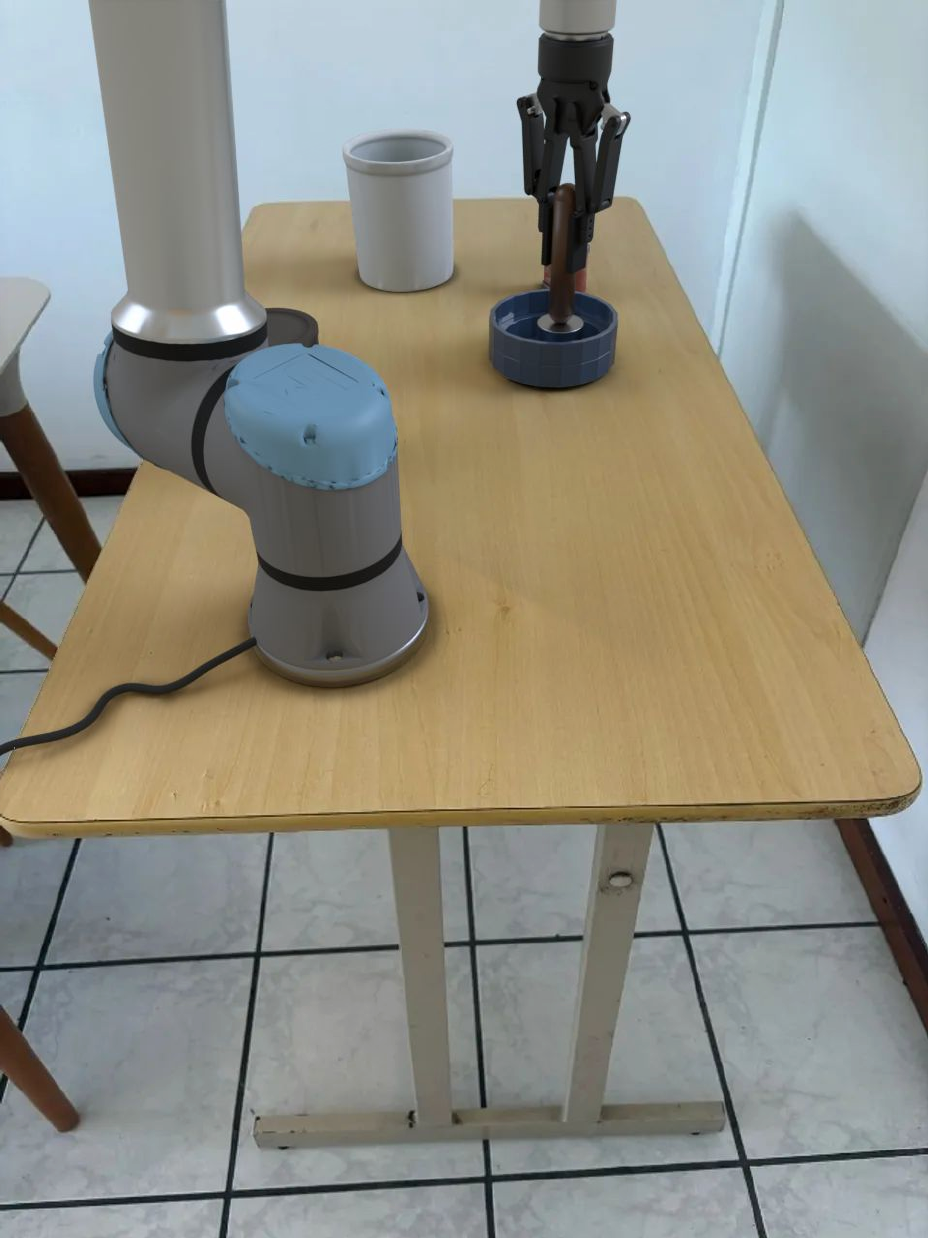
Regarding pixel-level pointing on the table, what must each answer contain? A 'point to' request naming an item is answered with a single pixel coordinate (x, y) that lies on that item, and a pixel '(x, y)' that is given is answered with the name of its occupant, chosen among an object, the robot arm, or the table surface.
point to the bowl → (551, 361)
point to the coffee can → (291, 327)
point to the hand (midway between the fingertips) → (563, 265)
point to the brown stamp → (561, 276)
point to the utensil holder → (401, 207)
